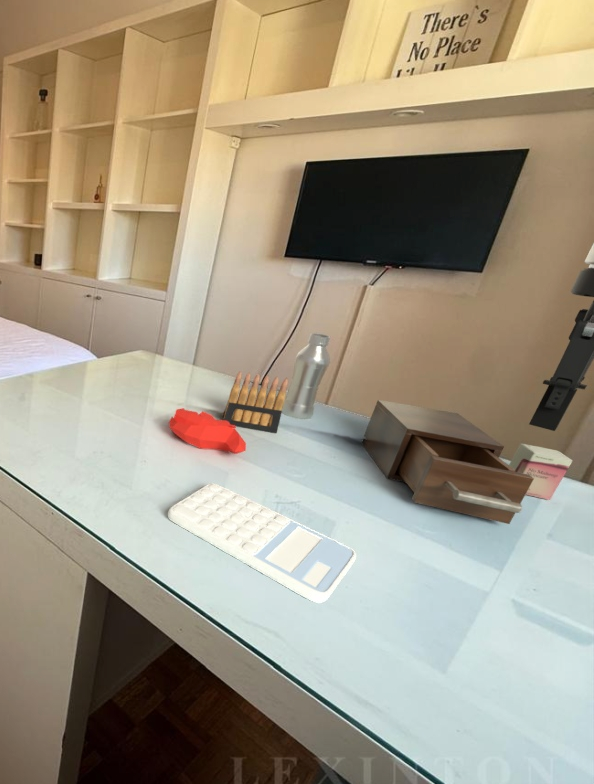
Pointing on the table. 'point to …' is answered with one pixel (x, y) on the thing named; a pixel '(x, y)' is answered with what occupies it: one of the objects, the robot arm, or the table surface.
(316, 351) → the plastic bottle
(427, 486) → the drawer
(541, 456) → the small box
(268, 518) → the calculator
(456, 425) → the cabinet
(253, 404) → the ammunition clip
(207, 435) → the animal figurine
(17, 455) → the table surface
